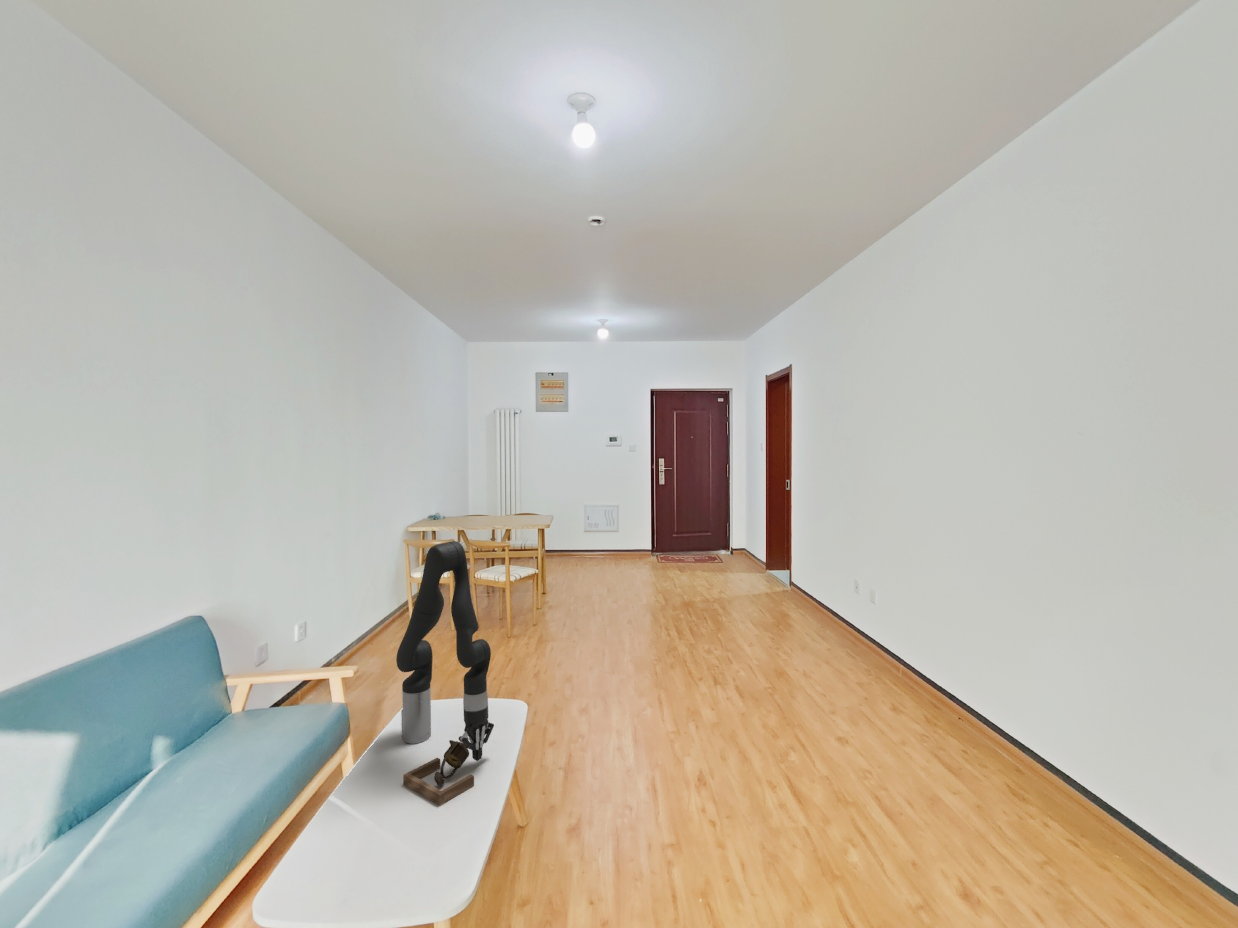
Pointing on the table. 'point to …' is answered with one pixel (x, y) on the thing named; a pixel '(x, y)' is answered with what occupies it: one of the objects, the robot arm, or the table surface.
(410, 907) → the table surface
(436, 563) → the robot arm
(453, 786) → the bracket
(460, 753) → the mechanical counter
